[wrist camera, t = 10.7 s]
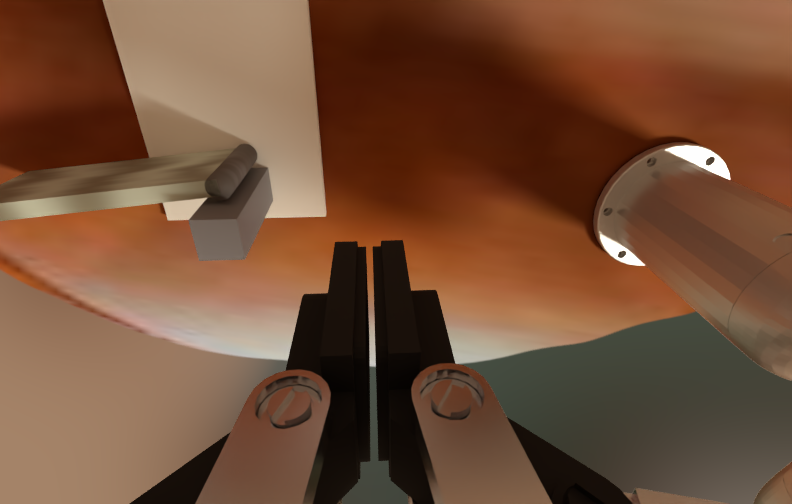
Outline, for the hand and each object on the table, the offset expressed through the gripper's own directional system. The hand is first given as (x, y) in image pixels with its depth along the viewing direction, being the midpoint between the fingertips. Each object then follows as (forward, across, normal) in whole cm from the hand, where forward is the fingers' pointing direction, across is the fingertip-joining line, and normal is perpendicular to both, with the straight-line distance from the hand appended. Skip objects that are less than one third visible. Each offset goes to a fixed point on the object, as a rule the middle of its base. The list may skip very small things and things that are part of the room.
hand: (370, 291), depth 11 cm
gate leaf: (+26, +18, +5) cm, 32 cm away
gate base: (+27, +11, -3) cm, 29 cm away
